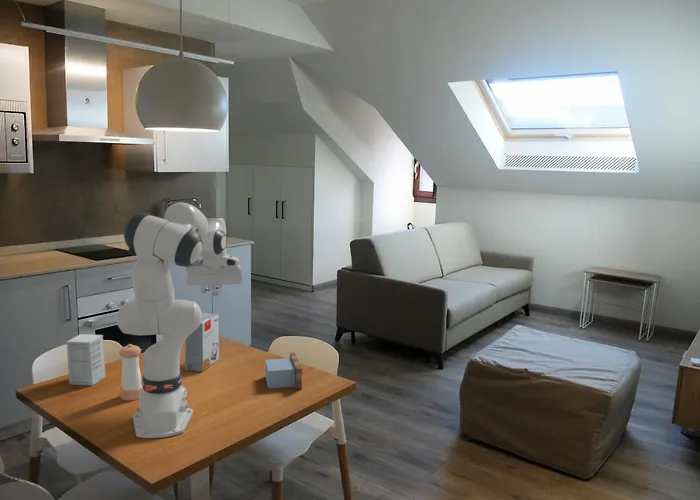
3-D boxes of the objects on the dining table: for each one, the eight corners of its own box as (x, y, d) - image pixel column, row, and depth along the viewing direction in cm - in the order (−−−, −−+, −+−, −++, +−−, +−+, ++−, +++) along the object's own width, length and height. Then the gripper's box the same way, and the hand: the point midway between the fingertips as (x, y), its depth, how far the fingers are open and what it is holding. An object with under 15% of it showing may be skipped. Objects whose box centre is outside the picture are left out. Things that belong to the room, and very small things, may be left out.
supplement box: (106, 376, 217) (104, 334, 214) (93, 386, 208) (90, 342, 205) (82, 375, 218) (80, 333, 215) (68, 384, 209) (65, 341, 206)
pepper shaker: (122, 402, 195) (120, 349, 192) (119, 394, 201) (117, 343, 198) (144, 398, 198) (142, 345, 195) (140, 390, 205) (138, 340, 202)
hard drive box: (202, 372, 223) (201, 324, 220) (185, 370, 225) (183, 322, 221) (219, 359, 238) (218, 313, 235) (202, 357, 240) (201, 312, 236)
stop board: (301, 388, 209) (301, 368, 208) (296, 389, 209) (296, 368, 207) (294, 371, 226) (294, 352, 225) (289, 371, 226) (289, 352, 225)
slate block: (295, 386, 212) (295, 369, 210) (268, 389, 209) (268, 371, 208) (290, 375, 223) (290, 358, 222) (265, 376, 221) (265, 359, 220)
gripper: (185, 261, 204) (185, 299, 206) (242, 261, 208) (242, 297, 210) (186, 258, 210) (187, 294, 212) (242, 257, 214) (242, 293, 216)
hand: (215, 296), depth 211 cm, fingers closed
